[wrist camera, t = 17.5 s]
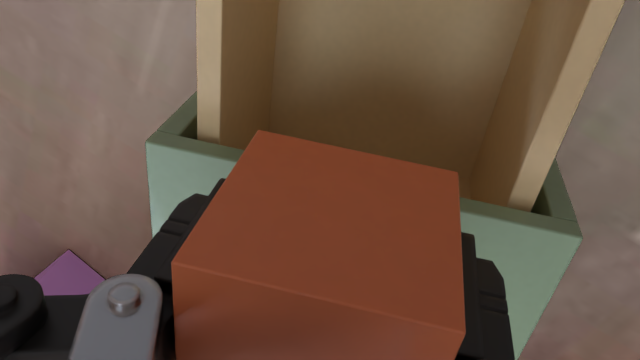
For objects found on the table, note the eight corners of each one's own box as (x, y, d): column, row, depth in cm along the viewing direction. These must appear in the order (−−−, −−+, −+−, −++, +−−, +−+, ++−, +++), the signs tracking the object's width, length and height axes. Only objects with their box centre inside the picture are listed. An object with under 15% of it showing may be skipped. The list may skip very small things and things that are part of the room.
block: (257, 128, 12) (170, 262, 8) (458, 171, 11) (467, 333, 8) (248, 273, 14) (177, 426, 11) (412, 313, 14) (400, 487, 10)
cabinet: (242, 44, 24) (143, 140, 16) (536, 103, 23) (584, 238, 15) (233, 270, 32) (164, 407, 24) (449, 322, 31) (450, 485, 23)
